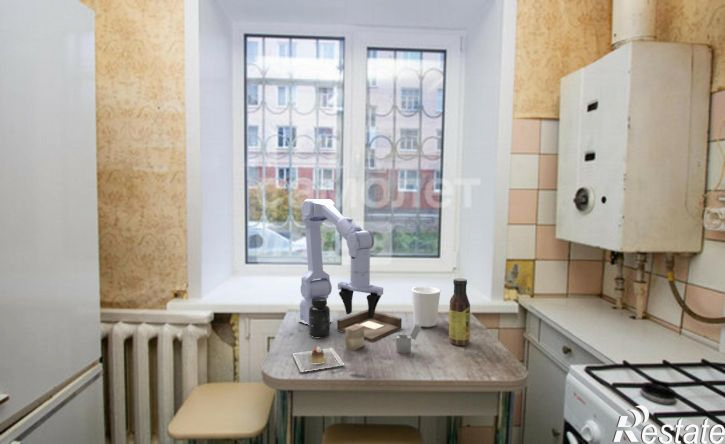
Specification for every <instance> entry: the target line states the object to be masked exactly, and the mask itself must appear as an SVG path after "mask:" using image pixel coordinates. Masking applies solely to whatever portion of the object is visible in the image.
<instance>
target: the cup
mask: <svg viewBox="0 0 725 444" xmlns="http://www.w3.org/2000/svg"><path fill="white" fill-rule="evenodd" d="M411 297H412V298H411V301H412V302H411V303H412V310H413V311H412V312H413V322H414V325H416V324H418V325H420V326H421V328H423V329H424V330H427V329H429V328H432V329H433V328H436V326H437V322H438V314H439V304H440V297H441V290H440V289H439V288H437V287H434V286H426V285H424V286H414V287H412V289H411Z"/></svg>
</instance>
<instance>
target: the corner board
mask: <svg viewBox="0 0 725 444" xmlns="http://www.w3.org/2000/svg"><path fill="white" fill-rule="evenodd" d="M402 321H403V320H402V317H397V316H394V315H391V314H387V313H383V312H380V311H377V310H375V313H374V317H372V318H371V319H370V318H369V317H368V309H365V310H363V311H362V310H361V311H358V312H356V313H354V314H351V315H347V316H346V317H343V318H339V319H337V321H336V322H337V326H336V327H337V328H336V329H338V330H340V331H339V332H341V331H343V332H342V333H344V332H345V333H344V334H346V328H348V327H350V326H353V325H355V324H359V325H363V326H364V341H366V342H367V341H368V342H369V343H370V342H374V341H376V340H379V339H381V338H383V337H385V336H387V335H390V334H392V333H395V332H397V331H399V330H401V329H402ZM338 330H337V331H338Z"/></svg>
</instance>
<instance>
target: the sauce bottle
mask: <svg viewBox="0 0 725 444" xmlns="http://www.w3.org/2000/svg"><path fill="white" fill-rule="evenodd" d="M467 285H468V280H467V279H466V278H460V277H459V278H454V279H453V295H452V296H451V297H450V299H449V309H448V312H449V314H448V317H449V319H448V324H449V325H448V337H449V338H448V339H449V340H448V341H449V342H450V343H451V345H455V346H463V347H464V346H466V345H468V344H469V342H470V335H471V334H470V333H471V331H470V330H471V329H470V328H471V304H470V301H469V297H468V295H467Z"/></svg>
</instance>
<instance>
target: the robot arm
mask: <svg viewBox="0 0 725 444" xmlns="http://www.w3.org/2000/svg"><path fill="white" fill-rule="evenodd" d="M301 219H302V224H304V226H305V227H304V228H305V230H304V231H305V242H306V243H305V244H306V255H307V257H306V258H307V269H308V270H307V272H306V273H305V274H304V275H303V276H302V277H301V282H300V283H301V285H300V293H301V296H302V298H301V301H300V303H299V320H300V319H301V320H304V321H305V322H307V323H308V324H309V308H310V307H311V306H313V305H312V298H314V297H325V298H327V299H328V298H329V296H330V295H331V293H332V291H333V290H332V289H333V288H332V287H333V285H332V281H331V279H330V275H329V274H328V273H327V272H326V271H325V270H324V263H323V251H322V238H321V226H322V224H323V223H325V222H326V221H327V220H329V221H330V222H331V223H332V224H334V225H335V227H336V228H335V229H336V231H337V233H338V234H339V235H340V236H341V237H342V238H343V239H344V240H345V241H346V246H347V248H348V255H349V256H350V282H347V281H346V282H345V281H340V282H338V283H337V290H339V292H338V296H339V297H340V299H341V301H342V302H343V306H344V310H345V313H346V315H349V314H351V313H352V312H353V297H354V296H353V295H354V292H357V293H365V294H368V295H366V300H367V307H368V308H367V310H368V317H369V318H370V319H371V318H372V317H374V313H375V311H376V308H377V305H378V303H379V301H380V299H381V298H382V295H384V287H382V286H381V287H380V286H377V285H372V284H370V281H371V280H370V279H371V278H370V277H371V276H370V275H371V274H370V272H371V270H370V268H371V265H370V264H371V262H370V261H371V259H370V258H371V249H372V248H373V247H374V244H375V237H374V234H373V233H372V231H371V230H369V229H363V228H361V226H360V225H358V224H357V223H356V222H354V221H353V218H352V217H347V216H346V217H345V216H344V215H342V213H341V212H340V211H339V210H338V209H337V208H336V203H335V202H334V201H333V200H332V199H331V198H327V199H323V198H322V199H319V198H318V199H310V198H307V199H304V201H303V203H302V205H301ZM330 322H331V323H333V321H332V320H330Z"/></svg>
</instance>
